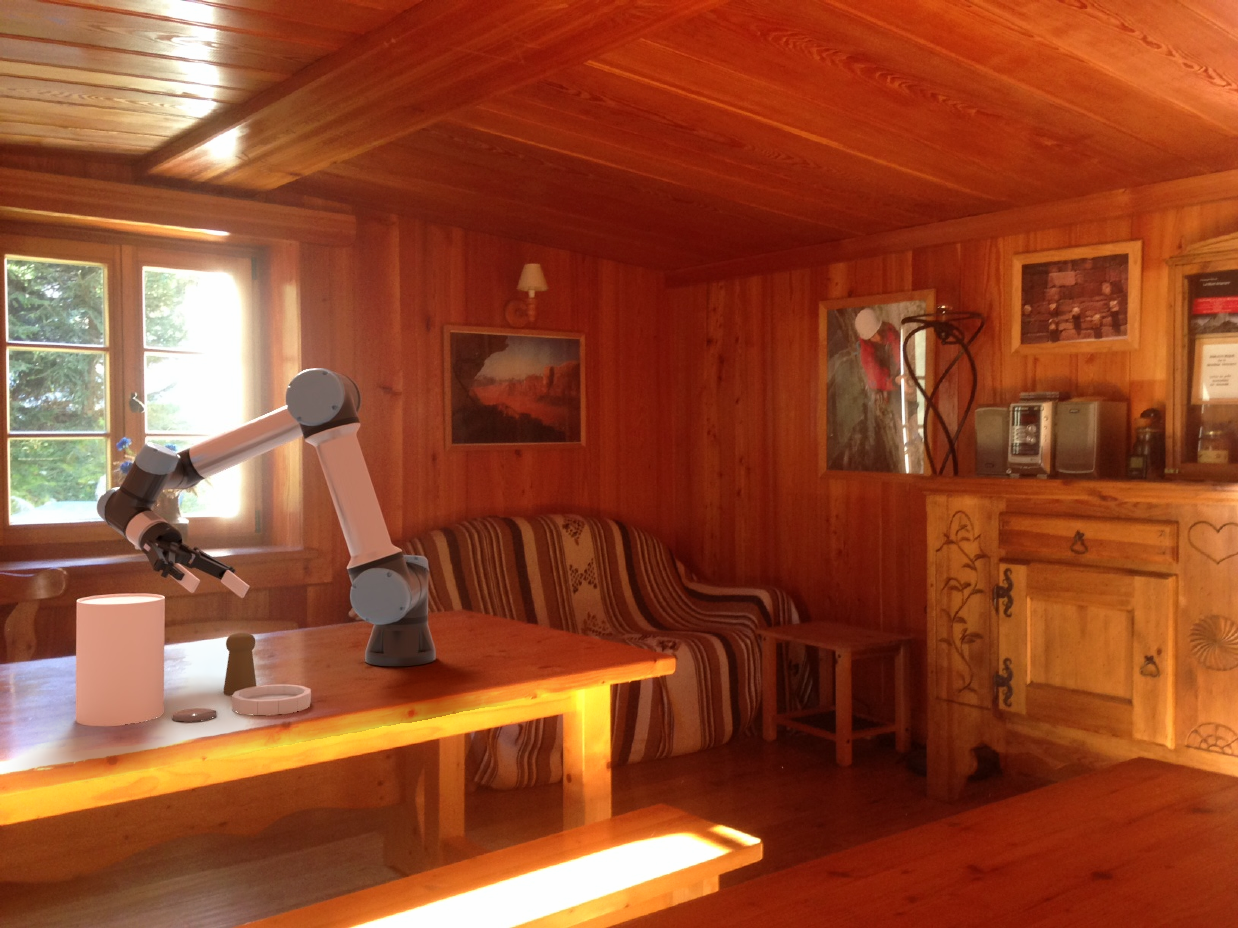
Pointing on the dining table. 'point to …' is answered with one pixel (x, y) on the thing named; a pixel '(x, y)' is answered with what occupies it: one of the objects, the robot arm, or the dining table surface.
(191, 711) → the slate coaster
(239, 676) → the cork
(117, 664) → the canister
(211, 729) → the dining table surface
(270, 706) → the pink flat ring
